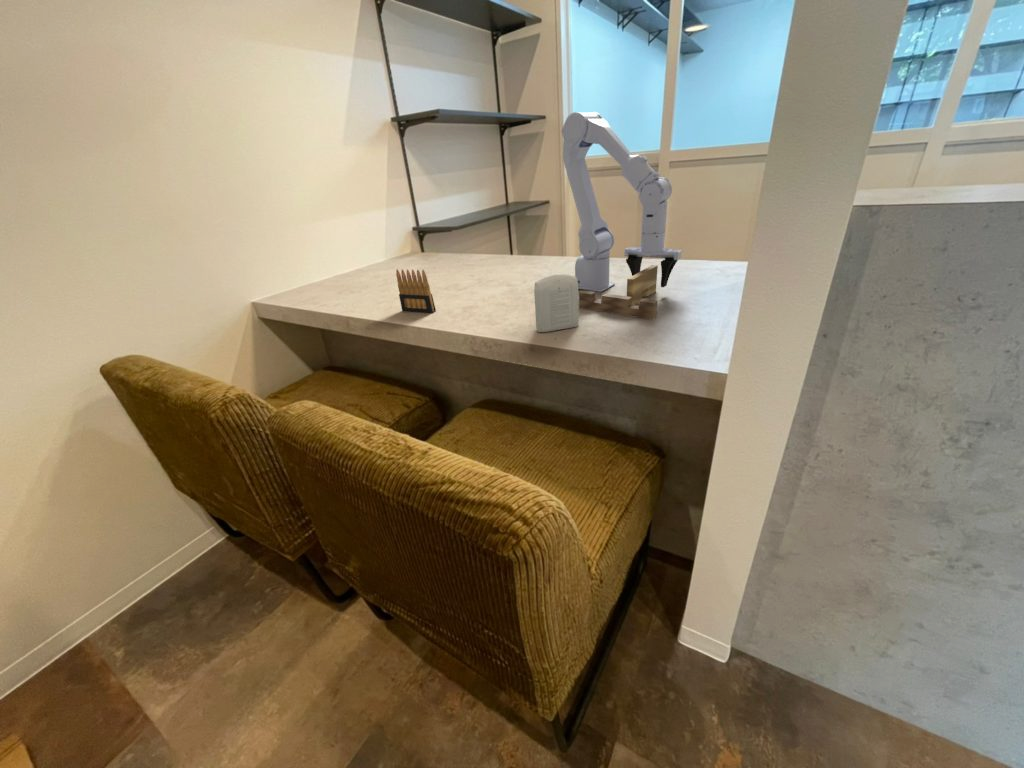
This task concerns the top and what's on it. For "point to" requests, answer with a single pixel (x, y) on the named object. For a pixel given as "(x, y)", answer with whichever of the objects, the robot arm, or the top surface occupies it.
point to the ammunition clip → (415, 292)
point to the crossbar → (642, 284)
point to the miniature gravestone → (556, 303)
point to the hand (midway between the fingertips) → (649, 284)
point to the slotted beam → (618, 305)
